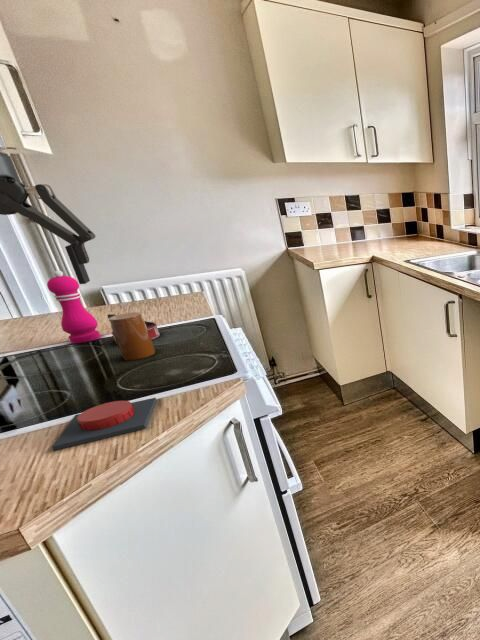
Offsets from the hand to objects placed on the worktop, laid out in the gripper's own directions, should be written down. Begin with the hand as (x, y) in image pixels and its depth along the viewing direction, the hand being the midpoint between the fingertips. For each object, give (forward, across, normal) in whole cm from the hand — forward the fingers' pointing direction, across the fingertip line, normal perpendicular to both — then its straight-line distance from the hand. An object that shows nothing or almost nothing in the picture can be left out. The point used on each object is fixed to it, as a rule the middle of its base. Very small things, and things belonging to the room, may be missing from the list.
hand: (31, 287), depth 72 cm
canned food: (+25, 0, +49) cm, 56 cm away
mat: (+24, +5, -8) cm, 26 cm away
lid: (+22, +5, -8) cm, 24 cm away
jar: (+25, +3, +32) cm, 41 cm away
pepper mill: (+26, -14, +57) cm, 64 cm away
